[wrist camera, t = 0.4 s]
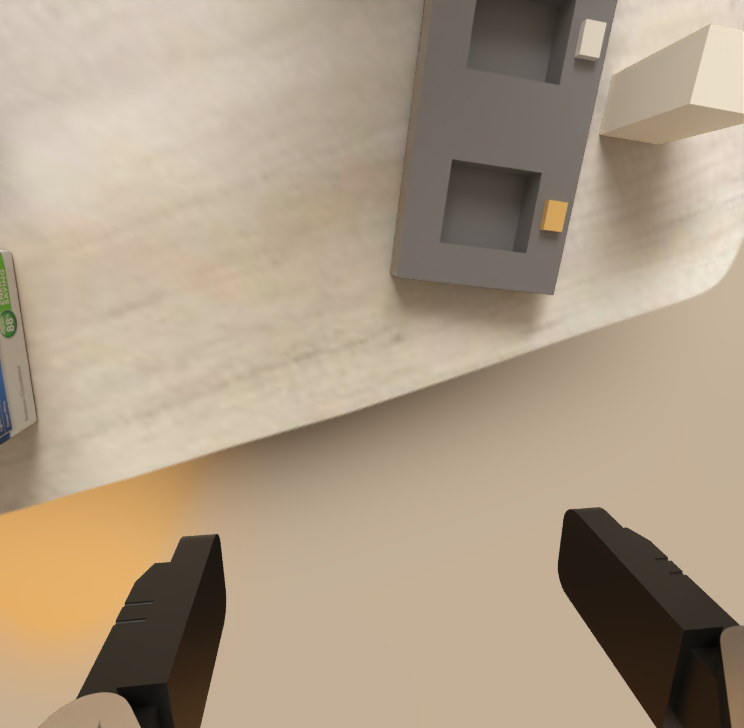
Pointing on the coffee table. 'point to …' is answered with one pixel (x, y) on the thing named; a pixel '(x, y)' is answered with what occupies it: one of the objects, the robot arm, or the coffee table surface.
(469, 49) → the tabletop socket
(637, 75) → the plug
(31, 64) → the coffee table surface
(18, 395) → the string lights box
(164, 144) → the coffee table surface
